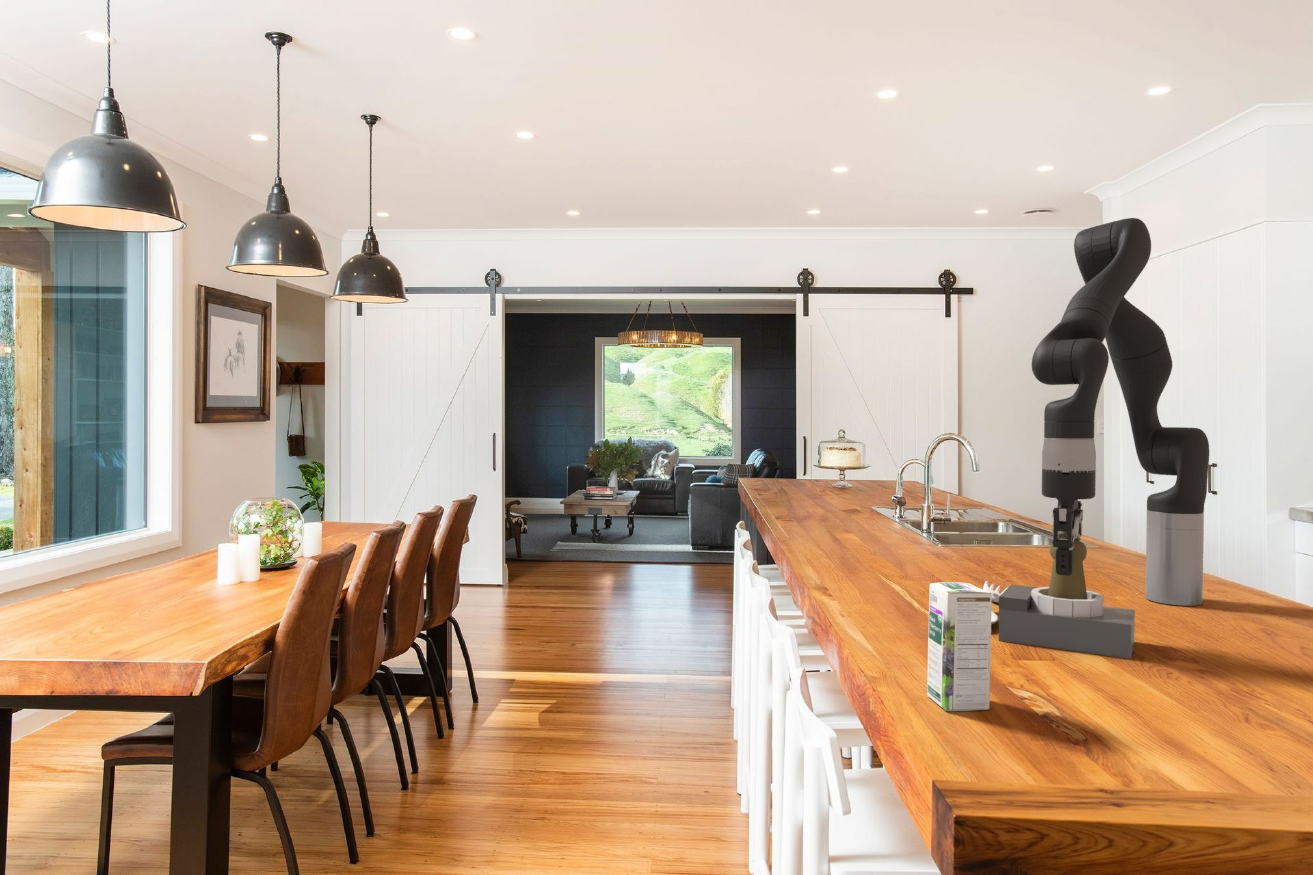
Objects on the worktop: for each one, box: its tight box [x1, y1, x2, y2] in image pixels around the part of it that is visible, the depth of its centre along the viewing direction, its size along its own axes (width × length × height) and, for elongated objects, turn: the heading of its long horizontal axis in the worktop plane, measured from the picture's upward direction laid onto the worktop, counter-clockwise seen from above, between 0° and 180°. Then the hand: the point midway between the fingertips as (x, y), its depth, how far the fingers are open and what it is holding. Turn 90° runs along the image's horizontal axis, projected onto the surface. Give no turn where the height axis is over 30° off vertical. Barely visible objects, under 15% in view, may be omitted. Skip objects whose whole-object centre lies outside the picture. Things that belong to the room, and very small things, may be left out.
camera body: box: [998, 584, 1136, 660], centre depth 127 cm, size 11×18×8 cm, turn 57°
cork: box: [1048, 538, 1088, 600], centre depth 127 cm, size 6×6×11 cm
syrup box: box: [926, 581, 993, 712], centre depth 100 cm, size 6×6×14 cm
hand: (1067, 570), depth 127 cm, fingers open, 8 cm apart
